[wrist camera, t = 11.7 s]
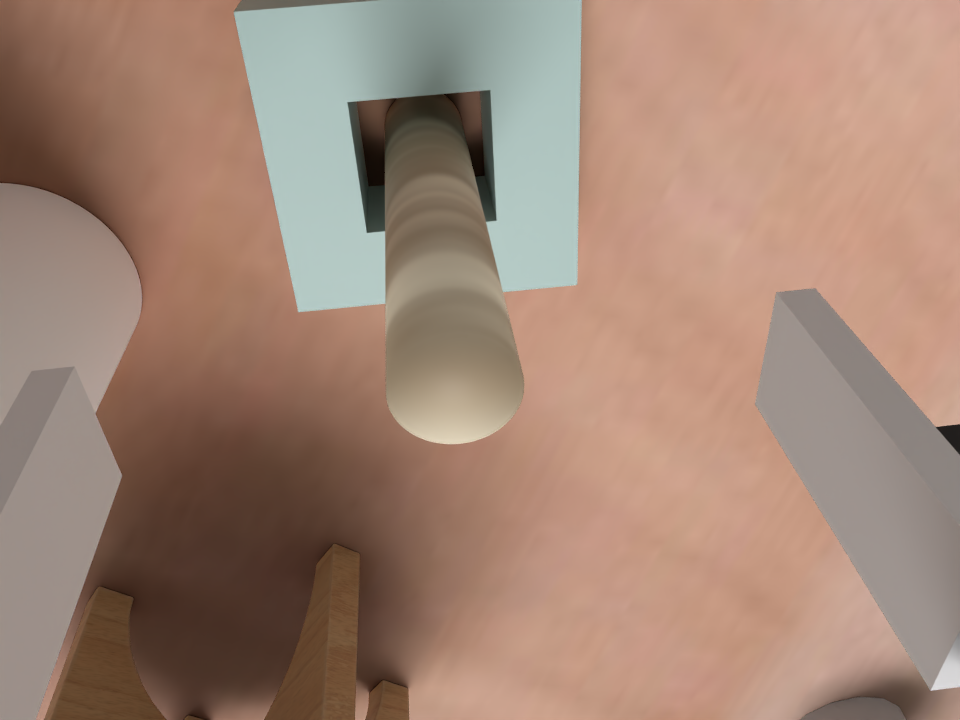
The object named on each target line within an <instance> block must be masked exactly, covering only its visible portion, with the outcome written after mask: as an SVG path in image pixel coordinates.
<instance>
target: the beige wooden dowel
mask: <svg viewBox="0 0 960 720" xmlns="http://www.w3.org/2000/svg"><path fill="white" fill-rule="evenodd" d="M385 320H386V399H387V403H388V407H389V409H390V411H391V413H392V415H393V417H394V418H395V419H396V421H397V422H398V423H399V424H400V425H401V426H402V427H403V428H404V429H405V430H407V431H408V432H410V433H411V434H413V435H415V436H417V437H419V438H421V439H424V440H427V441H430V442H434V443H441V444H462V443H468V442H472V441H476V440H479V439H482V438H485V437H487V436H489V435H491V434H493V433H494V432H496V431H497V430H499V429H500V428H502V427H503V426H504V425H505V424H506V423H507V422H508V421H509V420H510V419H511V418H512V417H513V416H514V414H515V413H516V411H517V410H518V408H519V406H520V404H521V401H522V398H523V393H524V377H523V373H522V369H521V365H520V360H519V356H518V352H517V348H516V344H515V340H514V336H513V332H512V327H511V323H510V319H509V315H508V311H507V307H506V303H505V299H504V295H503V290H502V286H501V282H500V278H499V274H498V270H497V266H496V262H495V257H494V253H493V249H492V245H491V241H490V237H489V233H488V229H487V224H486V220H485V216H484V212H483V208H482V204H481V200H480V196H479V192H478V187H477V183H476V179H475V175H474V171H473V167H472V163H471V159H470V154H469V150H468V146H467V142H466V138H465V134H464V130H463V126H462V121H461V118H460V114H459V112H458V110H457V108H456V106H455V105H454V104H453V102H452V101H451V100H450V99H449V98H447V97H446V96H445V95H443V94H437V95H425V96H413V97H402V98H398V99H396V101H395V102H394V103H393V104H392V105H391V107H390V109H389V110H388V113H387V115H386V119H385Z"/></svg>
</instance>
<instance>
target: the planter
mask: <svg viewBox="0 0 960 720" xmlns="http://www.w3.org/2000/svg"><path fill="white" fill-rule="evenodd" d="M359 572H360V554H359V553H357V552H355V551H352V550H350V549H347V548H345V547H342V546H340V545H337V544H333V545H332V546H331V548H330V549H329V550H328V551H327V552H326V553H325V555H324V556H323V557H322V558H321V559H320V561H319V562H318V563H317V564H316V571H315V579H314V585H313V590H312V595H311V599H310V603H309V607H308V611H307V615H306V619H305V622H304V625H303V629H302V632H301V635H300V638H299V641H298V644H297V647H296V650H295V653H294V655H293V658H292V661H291V663H290V666H289V668H288V671H287V673H286V676H285V678H284V680H283V682H282V685H281V687H280V689H279V691H278V693H277V696H276V698H275V700H274V702H273V704H272V706H271V708H270V710H269V712H268V714H267V716H266V717H265V719H264V720H355V698H356V666H357V635H358V603H359ZM132 603H133V597H130V596H127V595H124V594H121V593H118V592H115V591H112V590H109V589H106V588H103V587H98V588H97V589H96V591H95V592H94V594H93V595H92V597H91V598H90V600H89V601H88V603H87V605H86V608H85V610H84V613H83V616H82V618H81V621H80V624H79V627H78V629H77V632H76V635H75V637H74V640H73V643H72V646H71V648H70V651H69V654H68V656H67V659H66V662H65V665H64V667H63V670H62V673H61V675H60V678H59V681H58V683H57V686H56V689H55V692H54V694H53V697H52V700H51V702H50V705H49V708H48V711H47V713H46V716H45V719H44V720H166V719H165V718H164V716H163V715H162V714H161V712H160V711H159V710H158V709H157V707H156V706H155V705H154V703H153V702H152V700H151V699H150V697H149V695H148V693H147V692H146V690H145V688H144V686H143V685H142V682H141V680H140V677H139V675H138V672H137V670H136V668H135V664H134V660H133V656H132V652H131V646H130V636H129V617H130V610H131V607H132ZM184 720H204V719H200V718H196V717H193V716H189V715H188V716H187V717H186V718H185V719H184ZM365 720H409V695H408V688H406V687H403V686H400V685H397V684H394V683H391V682H388V681H385V680H382V681H381V682H380V683H379V684H378V685H377V686H376V687H375V688H374V689H373V690H372V691H371V692H370V693H369V705H368V712H367V716H366V719H365Z"/></svg>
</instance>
